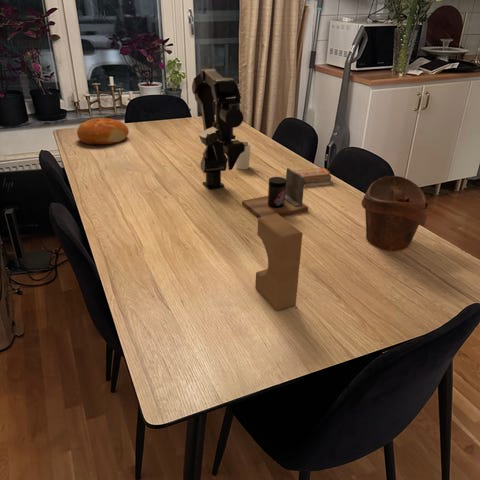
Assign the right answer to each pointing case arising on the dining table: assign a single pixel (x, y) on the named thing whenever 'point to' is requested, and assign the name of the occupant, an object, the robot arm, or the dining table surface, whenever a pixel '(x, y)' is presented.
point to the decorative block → (279, 261)
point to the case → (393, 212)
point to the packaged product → (314, 177)
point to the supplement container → (276, 192)
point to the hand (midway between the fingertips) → (224, 165)
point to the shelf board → (291, 199)
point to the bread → (102, 131)
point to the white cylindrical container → (244, 157)
